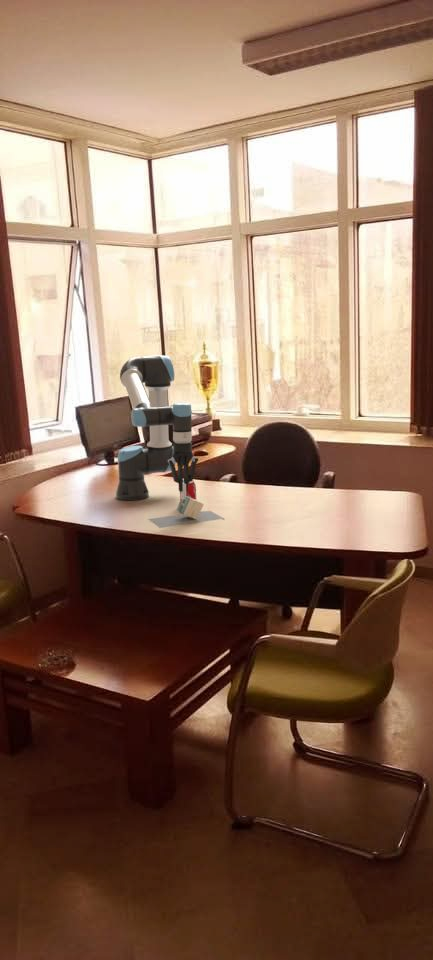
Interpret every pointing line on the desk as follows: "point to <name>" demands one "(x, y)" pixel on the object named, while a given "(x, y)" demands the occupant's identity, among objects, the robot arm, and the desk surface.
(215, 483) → the desk surface
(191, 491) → the soda can
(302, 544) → the desk surface
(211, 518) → the mat
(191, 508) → the block
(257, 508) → the desk surface
